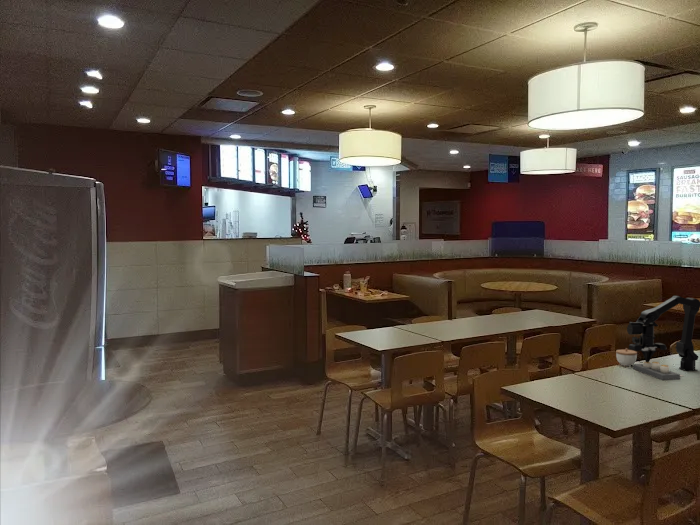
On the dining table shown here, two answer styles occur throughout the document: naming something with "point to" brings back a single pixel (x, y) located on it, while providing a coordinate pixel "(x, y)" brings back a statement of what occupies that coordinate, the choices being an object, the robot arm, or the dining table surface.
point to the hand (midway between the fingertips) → (647, 362)
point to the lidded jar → (626, 357)
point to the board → (656, 372)
